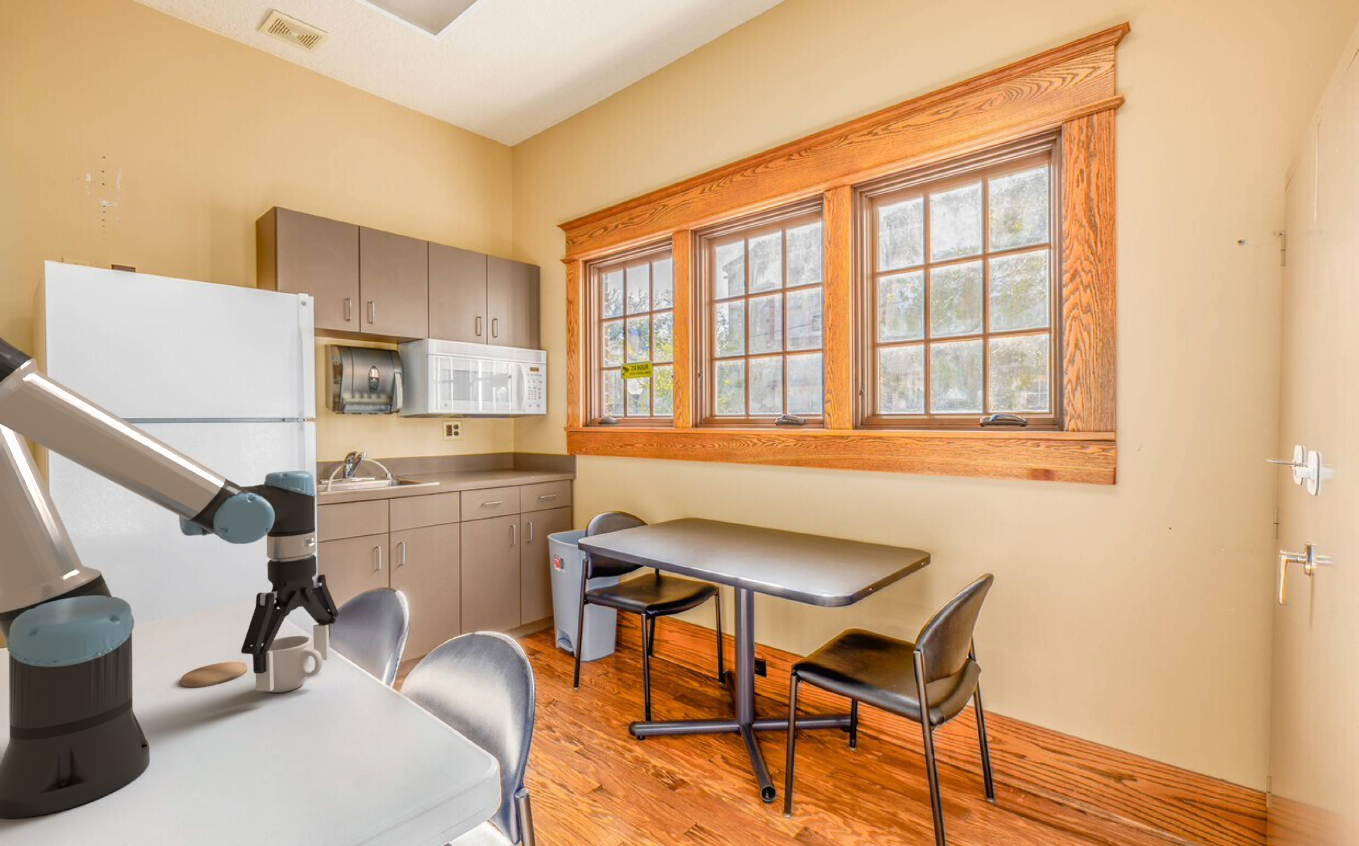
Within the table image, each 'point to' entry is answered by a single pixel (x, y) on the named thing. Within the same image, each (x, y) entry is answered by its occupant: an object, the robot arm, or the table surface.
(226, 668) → the coaster
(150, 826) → the table surface
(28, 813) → the robot arm
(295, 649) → the cup
